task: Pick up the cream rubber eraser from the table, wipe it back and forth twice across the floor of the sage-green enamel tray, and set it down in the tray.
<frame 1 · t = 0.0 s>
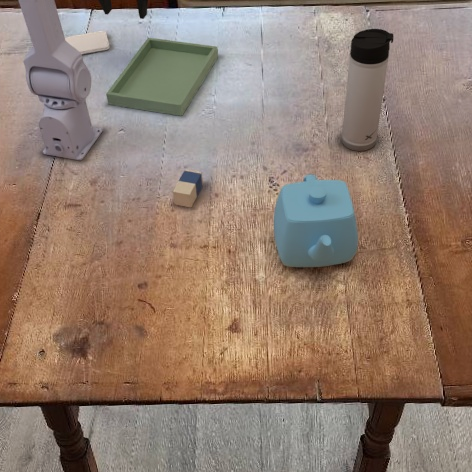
hand: (125, 14, 135), 10 cm above the table, tool pointing down, fingers open, 7 cm apart
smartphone: (74, 48, 147), on the table
eraser: (189, 194, 116), on the table
teapot: (314, 254, 106), on the table
tray: (165, 80, 138), on the table
travel mug: (359, 141, 123), on the table
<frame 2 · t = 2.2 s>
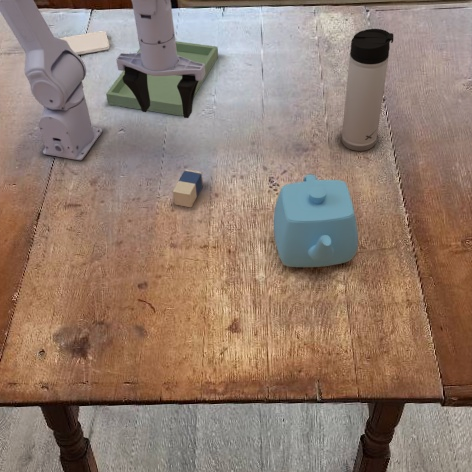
hand: (167, 111, 116), 9 cm above the table, tool pointing down, fingers open, 7 cm apart
nothing on the table moved.
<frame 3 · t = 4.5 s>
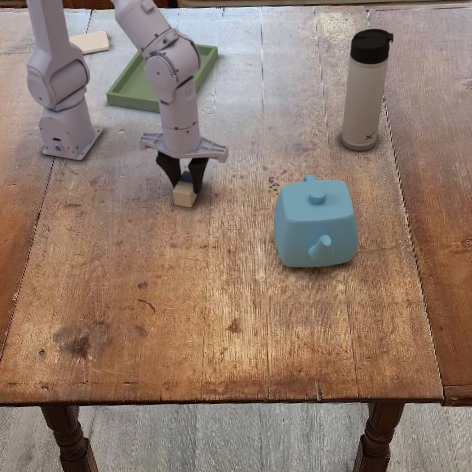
hand: (188, 188, 115), 1 cm above the table, tool pointing down, fingers closed on eraser, 3 cm apart
eraser: (188, 194, 116), on the table, touching gripper
everything else where it was.
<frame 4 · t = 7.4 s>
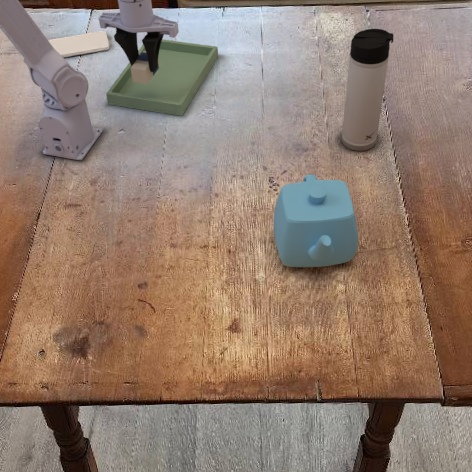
hand: (145, 67, 127), 7 cm above the table, tool pointing down, fingers closed on eraser, 3 cm apart
eraser: (146, 74, 129), point 6 cm above the table, touching gripper
everything else where it was.
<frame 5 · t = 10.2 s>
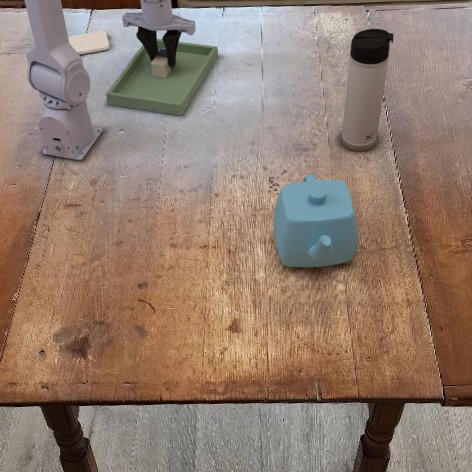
hand: (164, 63, 138), 2 cm above the table, tool pointing down, fingers closed on eraser, 3 cm apart
eraser: (164, 69, 139), point 1 cm above the table, touching gripper
everything else where it was.
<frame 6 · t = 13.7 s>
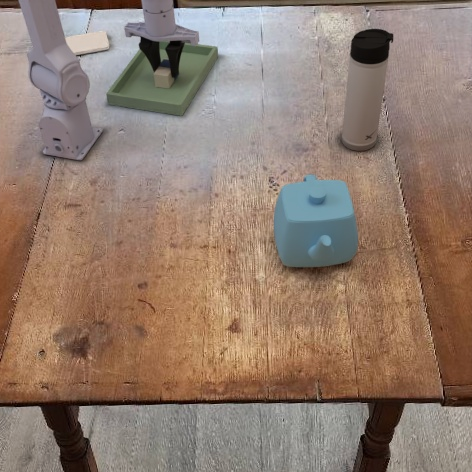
hand: (166, 73, 136), 2 cm above the table, tool pointing down, fingers closed on eraser, 3 cm apart
eraser: (167, 79, 137), point 1 cm above the table, touching gripper
everything else where it was.
when the fingers open (2 cm above the table, at t = 16.4 s): eraser stays where it is, resting on tray.
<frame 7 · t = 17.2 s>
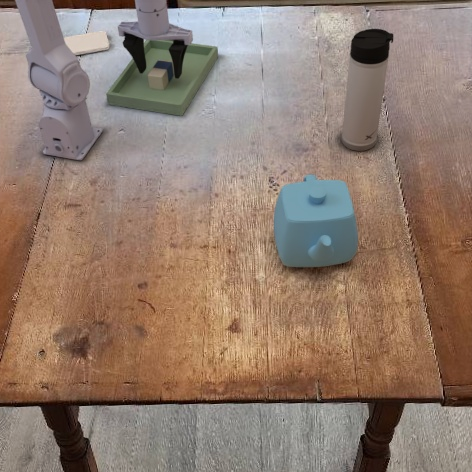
hand: (160, 73, 135), 2 cm above the table, tool pointing down, fingers open, 7 cm apart
eraser: (162, 81, 137), point 1 cm above the table, touching tray
everything else where it was.
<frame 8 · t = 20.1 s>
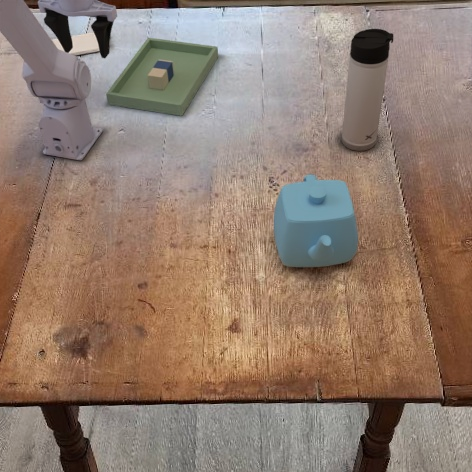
hand: (87, 52, 128), 9 cm above the table, tool pointing down, fingers open, 7 cm apart
nothing on the table moved.
at the end: eraser inside the target area in the tray (1.4 cm from its centre), point 0.6 cm above the tray's base; eraser moved 35.0 cm from its start; the gripper is holding nothing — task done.
